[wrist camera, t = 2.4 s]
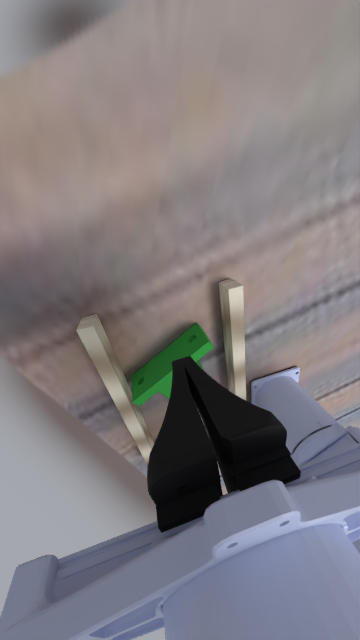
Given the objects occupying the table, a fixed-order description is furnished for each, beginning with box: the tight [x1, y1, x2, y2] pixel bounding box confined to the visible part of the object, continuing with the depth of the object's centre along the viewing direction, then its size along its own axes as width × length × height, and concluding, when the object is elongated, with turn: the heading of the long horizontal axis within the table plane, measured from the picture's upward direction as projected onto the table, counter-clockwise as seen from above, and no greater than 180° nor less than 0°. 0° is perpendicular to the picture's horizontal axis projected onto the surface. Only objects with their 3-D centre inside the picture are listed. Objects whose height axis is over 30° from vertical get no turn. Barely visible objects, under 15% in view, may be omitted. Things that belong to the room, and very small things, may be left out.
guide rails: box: [76, 279, 246, 465], centre depth 26 cm, size 24×16×2 cm, turn 11°
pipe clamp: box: [132, 323, 214, 406], centre depth 23 cm, size 10×4×4 cm, turn 129°
